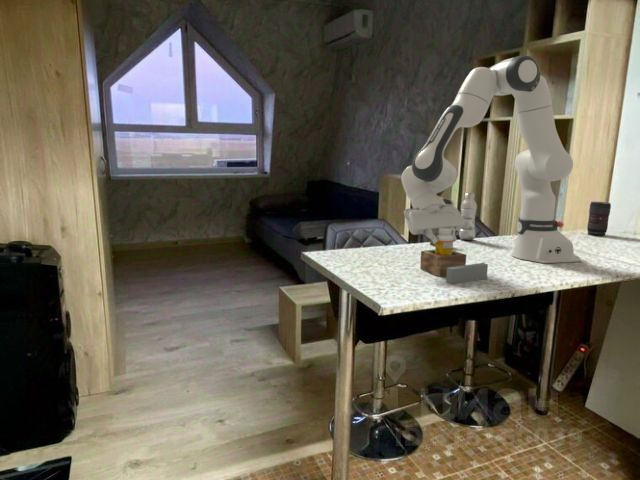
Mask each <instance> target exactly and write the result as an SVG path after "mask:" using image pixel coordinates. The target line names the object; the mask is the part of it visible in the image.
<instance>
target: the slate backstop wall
mask: <svg viewBox="0 0 640 480" xmlns="http://www.w3.org/2000/svg"><path fill="white" fill-rule="evenodd" d="M488 267H489V265H488V263H485V262H480V263H474V264H473V263H472V264H466V265H464V266H456V267H448V268H447V275H446V276H445V277H446V278H445V283H446V284H450V285H453V284H460V283H466V282H473V281H479V280H480V281H481V280H485V279H486V280H487V278H488Z"/></svg>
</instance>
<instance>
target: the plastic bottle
mask: <svg viewBox="0 0 640 480" xmlns="http://www.w3.org/2000/svg"><path fill="white" fill-rule="evenodd" d="M464 198H465V199H463V201H462V202H461V205H460V214H461V216H462V217H463V219H464V221H465V224H464V226H463V227H462V229H461V230H459V231H458V232H459V233H458V237H459V238H460V240H464V241H473V240H474V239H475V238H476V229H475V228H476V227H475V226H476V224H475V221H476V220H475V219H476V213H477V209H478V205H477V202H476V200H475V193H473V192H466V193H465V195H464Z"/></svg>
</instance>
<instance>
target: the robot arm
mask: <svg viewBox="0 0 640 480" xmlns="http://www.w3.org/2000/svg"><path fill="white" fill-rule="evenodd" d="M507 95H509V96H510V95H512V96H513V97H514V100H515V105H516V116H517V121H518V128H519V133H520V137H521V138H522V139H523V140H524V142H525V144H526V146H527V148H528V149H525V150H523V151H521V152H520V153H518V154H517V156H516V157H515V159H514V168H515V170H516V172H517V175H518V180H519V185H520V186H519V187H520V192H521V196H520V197H521V202H520V213H519V217H518V221H517V226H516V227H517V230H516V231H517V237H516V240H515V243H514V247H513V250H512V253H511V256H512V257H513V258H517V259H520V260H525V261H529V262H531V261H532V262H537V263H542V264H555V263H574V262H575V263H578V262H581V257H579V256H578V255H576V254H575V253H574V244H573V242H572V241H571V240H570V239H569V238H567V236H566V235H564V234H563V233H561V231H559V230H558V228H560V229H562V228H563V227H564V225H565V224H564V221H557V220H556V219H554V218H555V211H556V209H555V208H556V200H557V199H556V195H555V194H554V191H553V190H552V185H551V182H555V181H556V182H557V181H561V180H563V179H565V178H567V177H569V175H570V174H571V173H572V171H573V167H574V160H573V157H572V156H571V154H570V153H568V152H567V151H566V149H565V147H564V146H563V144H562V140H561V139H560V136H559V134H558V130H557V128H556V122H555V116H554V110H553V102H552V95H551V91H550V88H549V86H548V82H547V80H546V78H545V77H544V76H542V75H541V72H540V67H539V65H538V63H537V61H536V60H535V59H534V58H533V57H531V56H529V55H517V56H514V57H511V58H507V59H504V60H502V61H500V62H498V63H496V64H492V65H490V66H488V67H486V66H485V67H484V66H478V67H475V68H473V69H472V70H471V71H470V72H469V73H468V75H466V77H465V79H464V81H463V82H462V84H461V86H460V88H459V90H458V91H457V94H456V96H455V98H454V100H453V102H452V103H451V105H450V106H448V107H447V108H446V109H445V110H444V112H443V113H442V114H441V116H440V118H439V120H438V122H437V123H436V125H435V126H434V128H433V130H432V132H431V133H430V135H429V136H428V138H427V140H426V142H425V143H424V145H423V146H422V148H421V149H420V150H419V151H418V152H417V153H416V154H415V156H414V158H413V160H412V163H411V165H408V166H407V167H406V168H405V169H404V170H403V172H402V174H401V177H400V178H401V181H400V182H401V184H402V187H403V190H404V192H405V194H406V196H407V198H408V199H409V200H410V203H411V207H412V208H406V209H405V210H404V211H403V215H404V218H405V220H406V224H407V225H406V226H407V227H408V230H409V233H410V234H412V235H414V236H415V235H425V236H426V238H428V239H430V240H432V242H433V244H438V243H439V242H440V240H439V238H438V237H436V236H435V235H434V234H433V233H438V231H439V228H449V229H451V234H450V235H451V236H452V237H453V243H455V242H456V241H457V236H456V232H459V231H460V230H461V229H462V227H463V226H464V224H465V221H464V219H463V217H462V216H461V211H459V210H458V208H456V207H455V206H454V205H455V202H454V200H452V199H449V198H444V197H442V196H439V195H437V194H440V193H442V192H444V191H446V190H448V189H450V188H451V187H453V186H454V184H455V183H456V182H457V179H458V170H457V168H456V166H455V165H454V164H453V163H452V162H450V161H449V160H447V159H446V158H445V156H444V153H445V150H446V148H447V146H448V144H449V143H450V140H451V139H452V137H453V136H454V134H455V132H456V131H457V130H458V129H459V128H473V127H475V126H477V125H479V124H480V123H481V122H482V120H483V119H484V117H485V116H486V113H487V112H488V109H489V107H490V105H491V102H492V99H493V98H494V97H495V98H496V97H502V96H507Z"/></svg>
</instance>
